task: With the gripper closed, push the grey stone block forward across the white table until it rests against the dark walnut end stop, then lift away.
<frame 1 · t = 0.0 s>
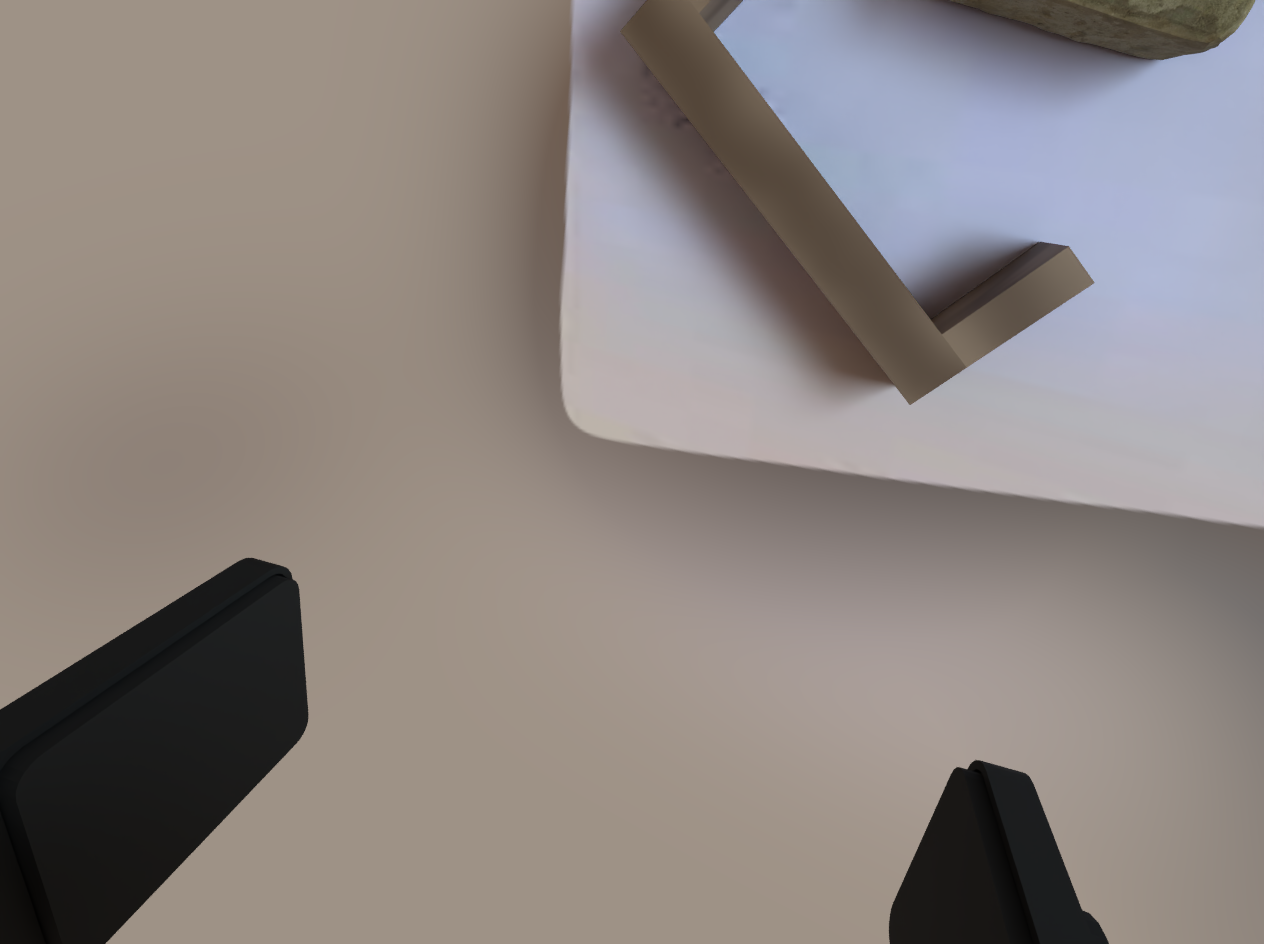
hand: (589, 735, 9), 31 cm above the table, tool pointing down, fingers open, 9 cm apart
walnut end stop: (799, 203, 34), on the table
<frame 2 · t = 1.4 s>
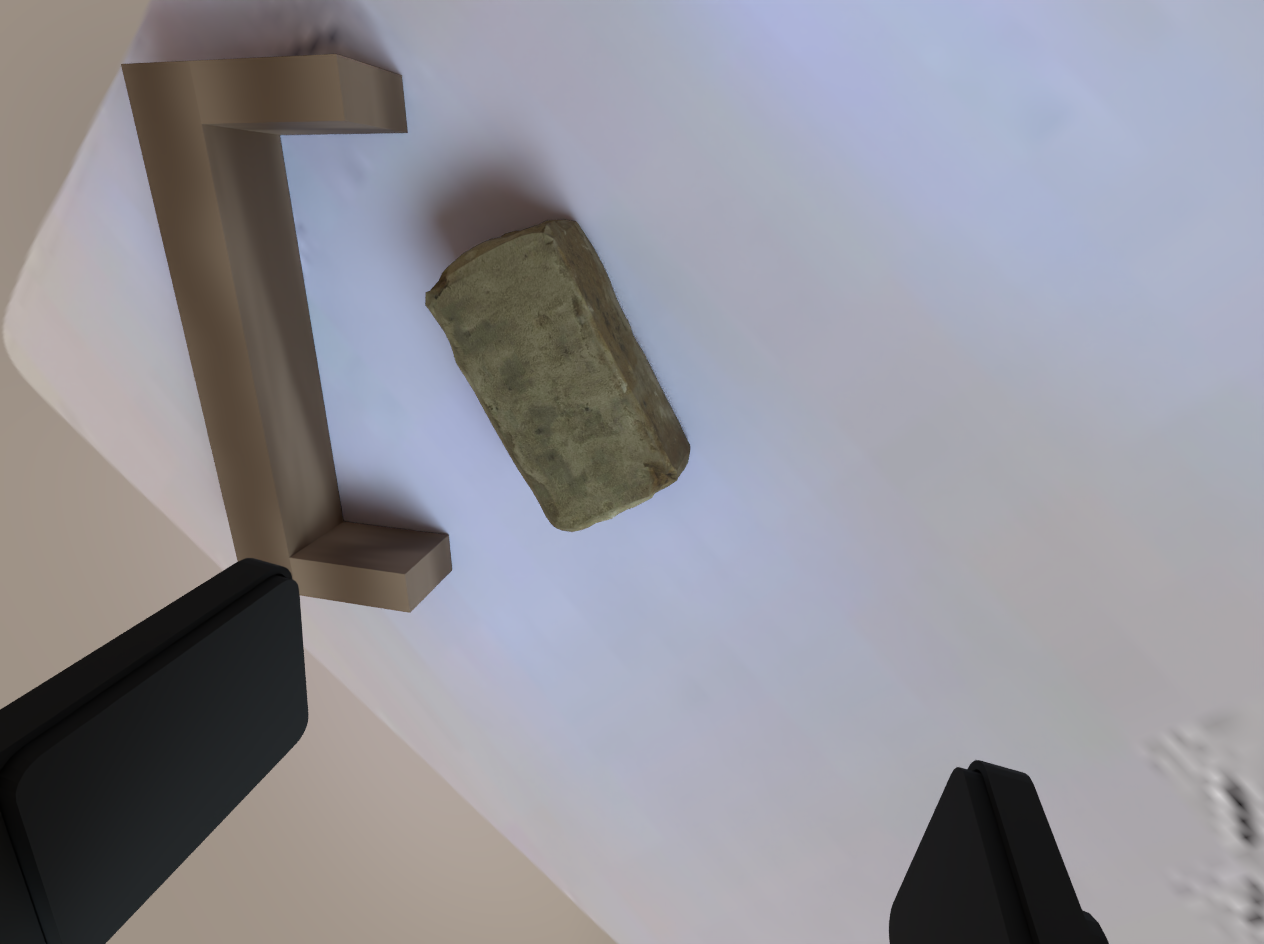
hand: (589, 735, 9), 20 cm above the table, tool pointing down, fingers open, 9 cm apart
walnut end stop: (287, 346, 32), on the table
stone block: (586, 361, 29), on the table
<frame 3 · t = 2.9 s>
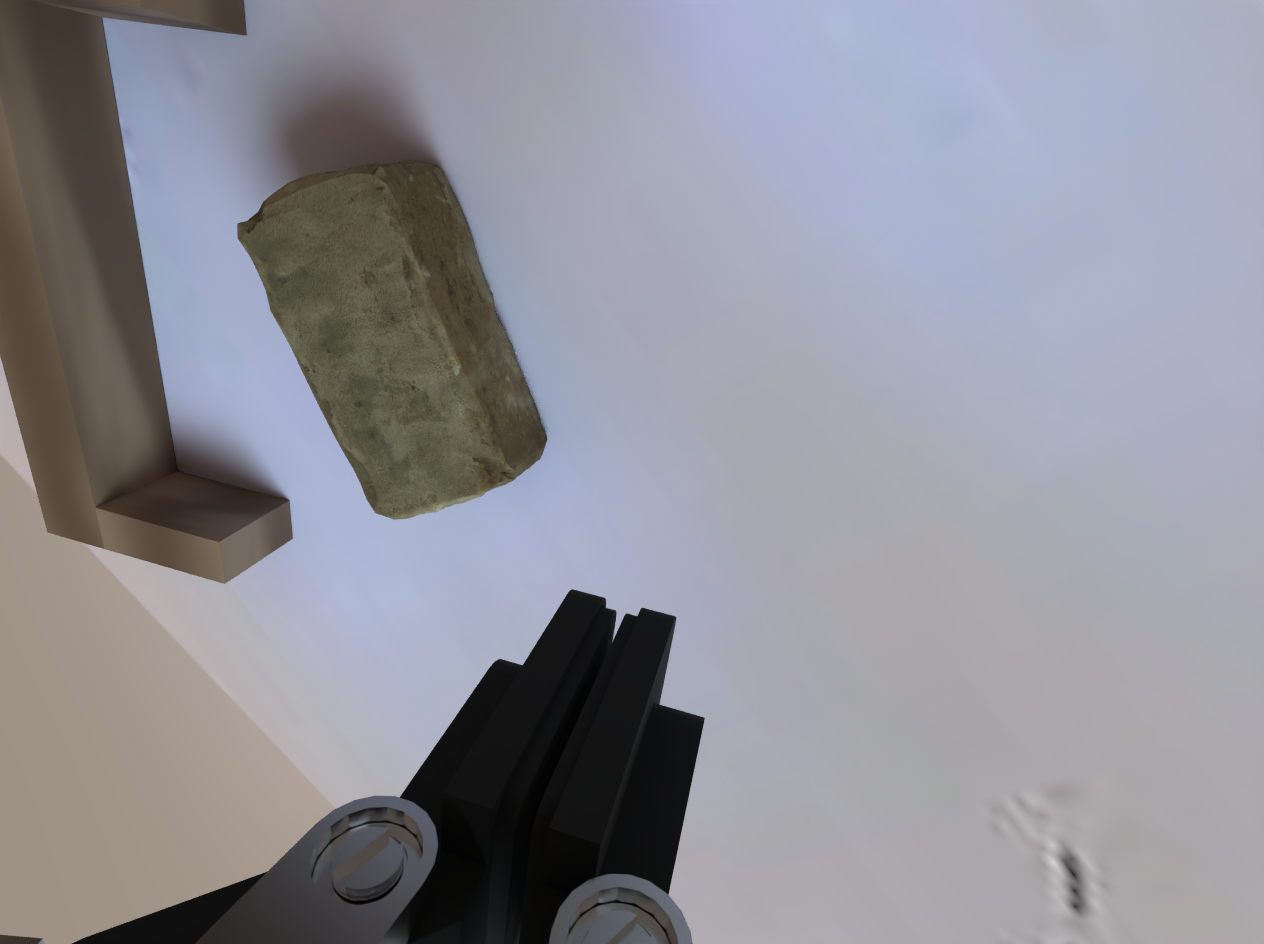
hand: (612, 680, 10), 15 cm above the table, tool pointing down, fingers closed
walnut end stop: (114, 269, 28), on the table
stone block: (445, 328, 26), on the table
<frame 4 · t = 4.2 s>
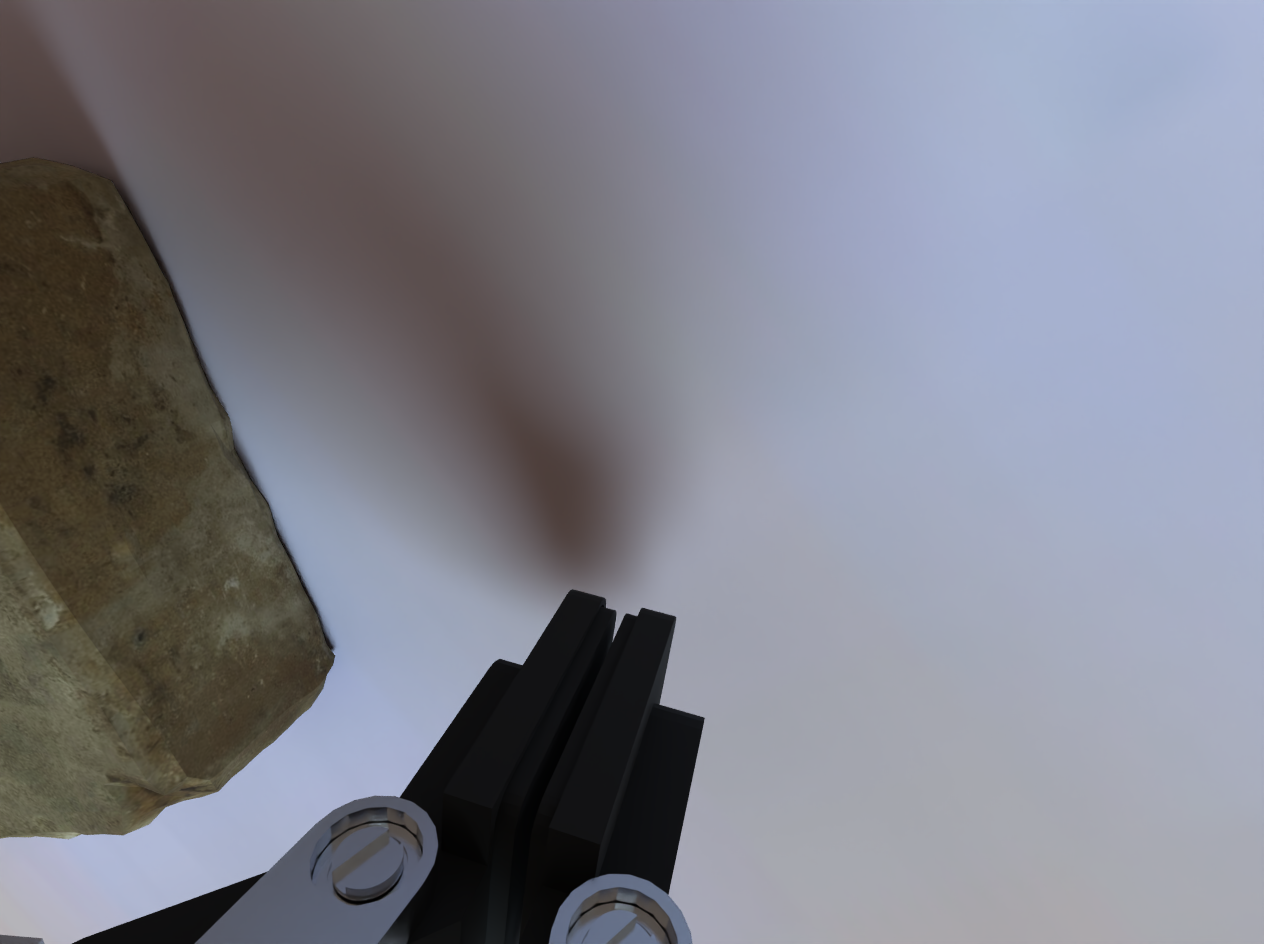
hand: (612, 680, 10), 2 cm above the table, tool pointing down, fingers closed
stone block: (163, 457, 14), on the table
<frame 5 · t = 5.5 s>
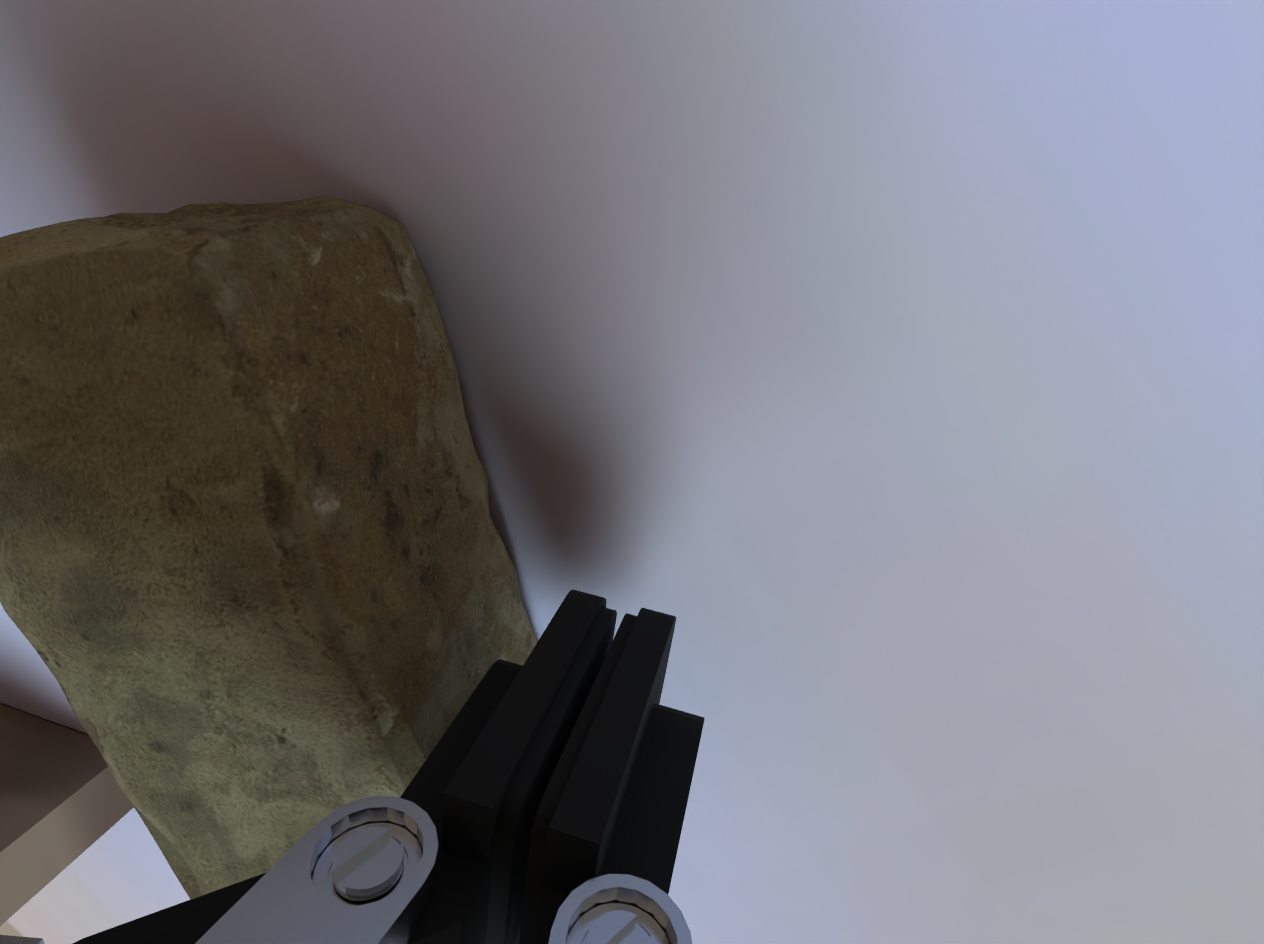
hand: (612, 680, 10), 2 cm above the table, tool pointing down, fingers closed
stone block: (389, 509, 13), on the table, touching gripper
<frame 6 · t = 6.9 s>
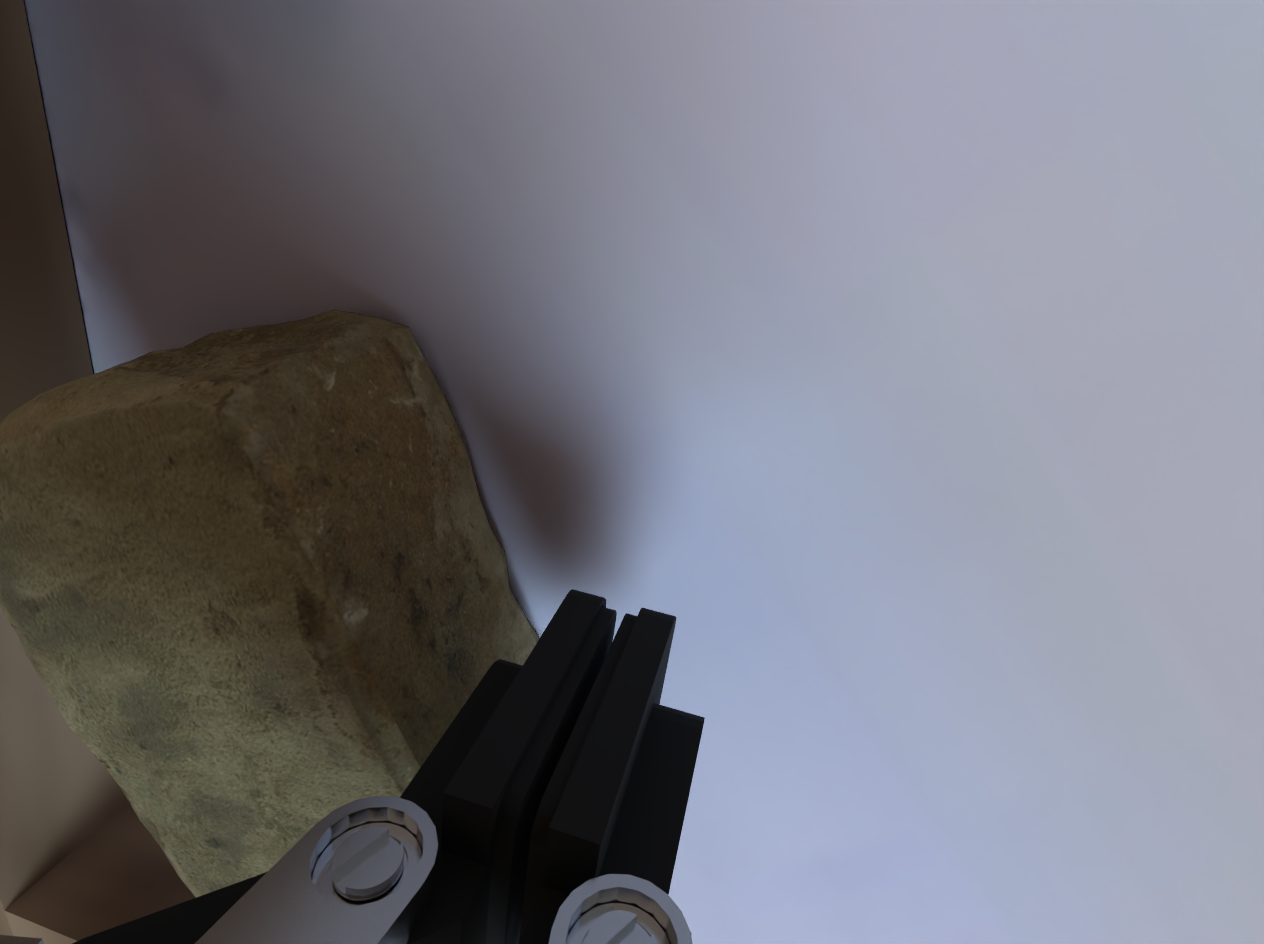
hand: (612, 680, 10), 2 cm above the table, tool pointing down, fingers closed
walnut end stop: (52, 446, 15), on the table
stone block: (415, 586, 14), on the table, touching gripper
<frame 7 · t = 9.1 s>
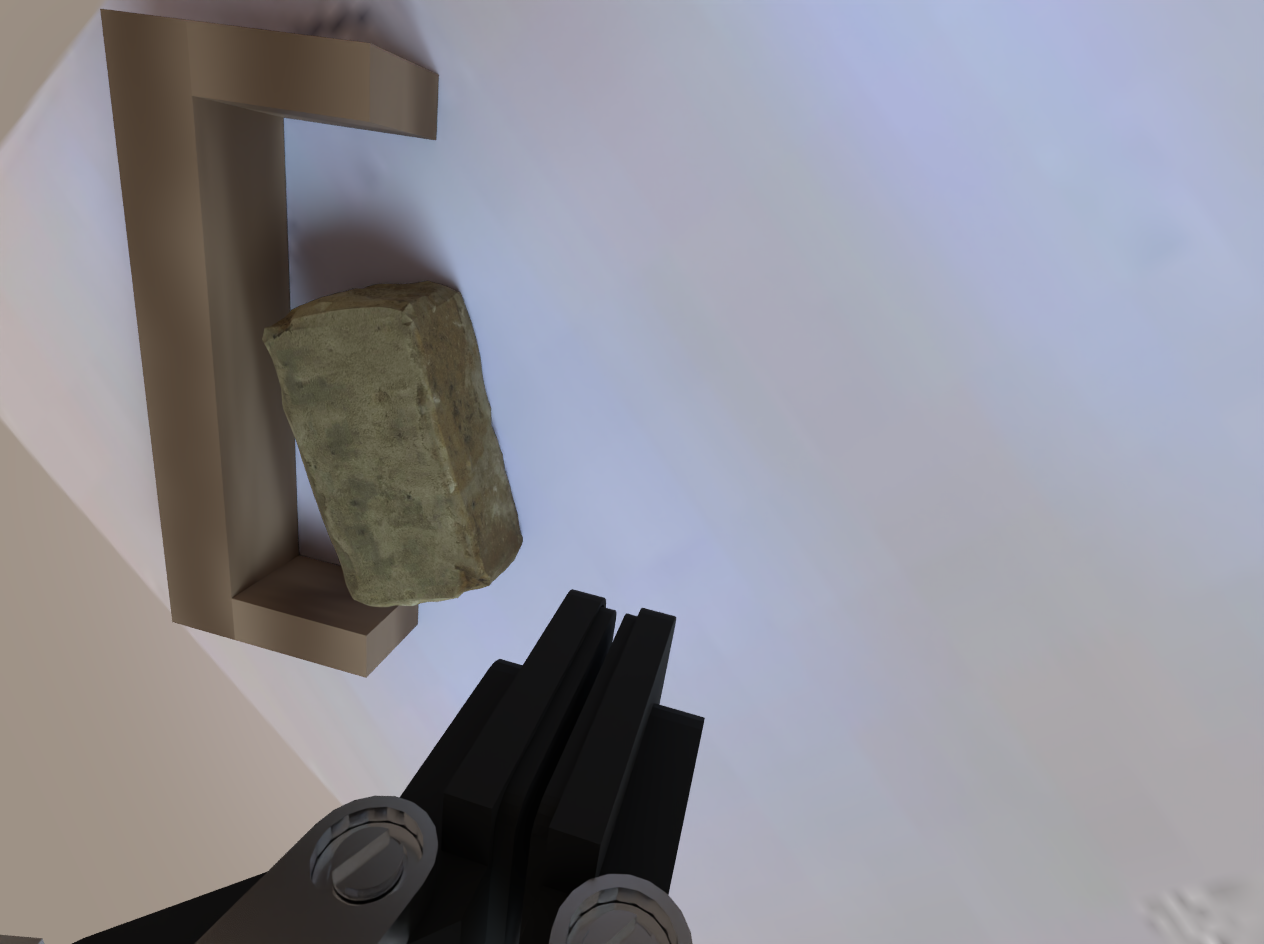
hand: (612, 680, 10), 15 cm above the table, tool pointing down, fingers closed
walnut end stop: (259, 355, 28), on the table
stone block: (440, 426, 27), on the table
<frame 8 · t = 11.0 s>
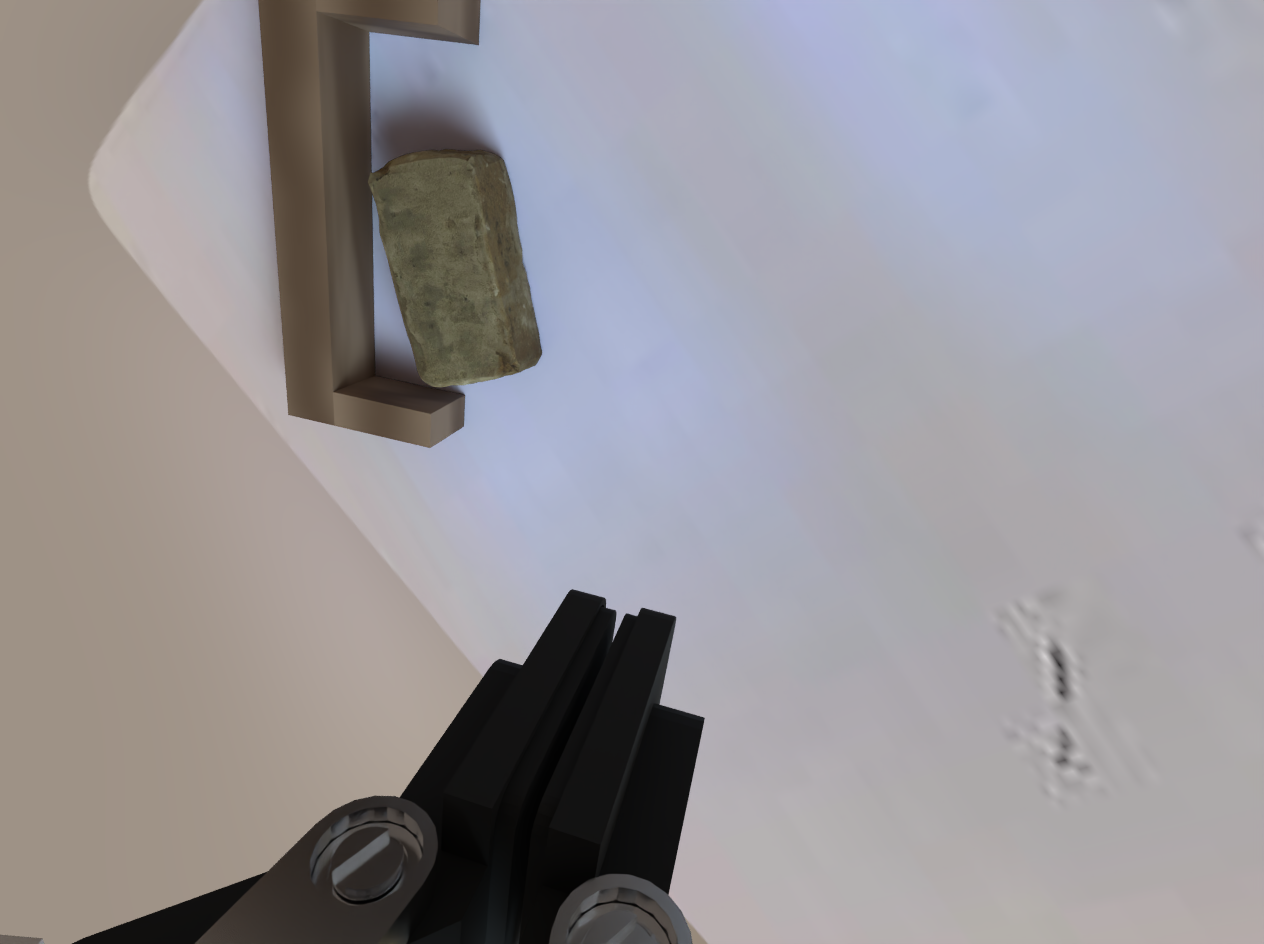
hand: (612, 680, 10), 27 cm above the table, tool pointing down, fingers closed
walnut end stop: (348, 216, 38), on the table
stone block: (484, 266, 37), on the table
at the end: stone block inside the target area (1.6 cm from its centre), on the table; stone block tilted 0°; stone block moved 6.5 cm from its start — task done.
